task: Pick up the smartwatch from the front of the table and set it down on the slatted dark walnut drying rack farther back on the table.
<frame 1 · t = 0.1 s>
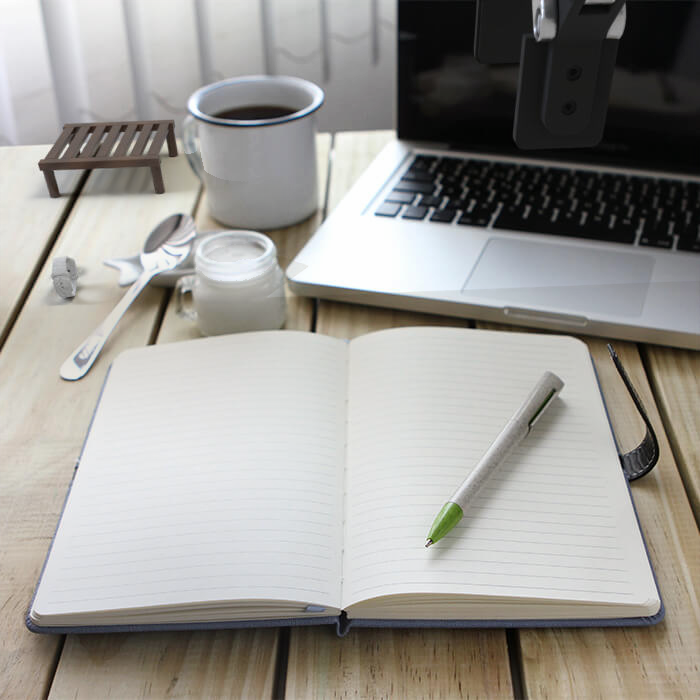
hand: (529, 98, 33), 30 cm above the table, tool pointing down, fingers open, 9 cm apart
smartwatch: (69, 295, 77), on the table
rack: (116, 174, 98), on the table
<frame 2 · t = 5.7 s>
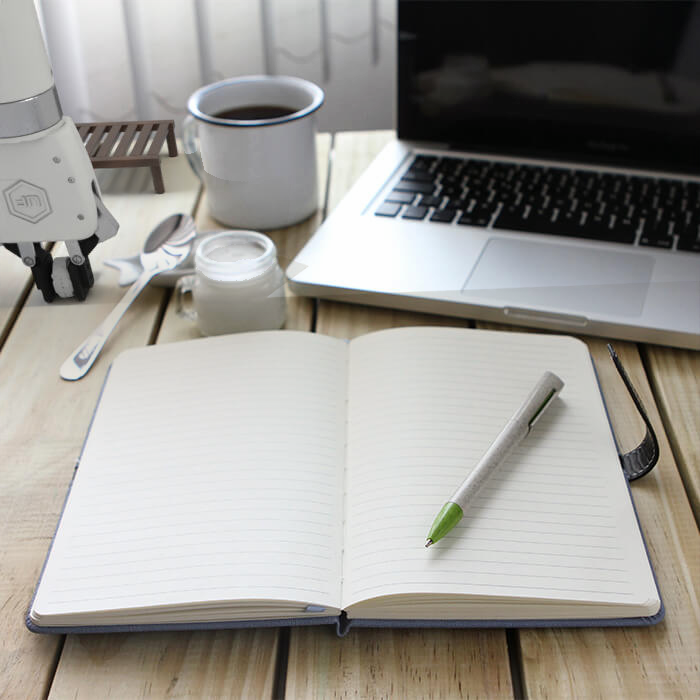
hand: (68, 292, 77), 0 cm above the table, tool pointing down, fingers closed on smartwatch, 2 cm apart
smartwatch: (69, 295, 77), on the table, touching gripper
when the fingers open (5 cm above the table, at t = 12.4 s): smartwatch stays where it is, resting on rack.
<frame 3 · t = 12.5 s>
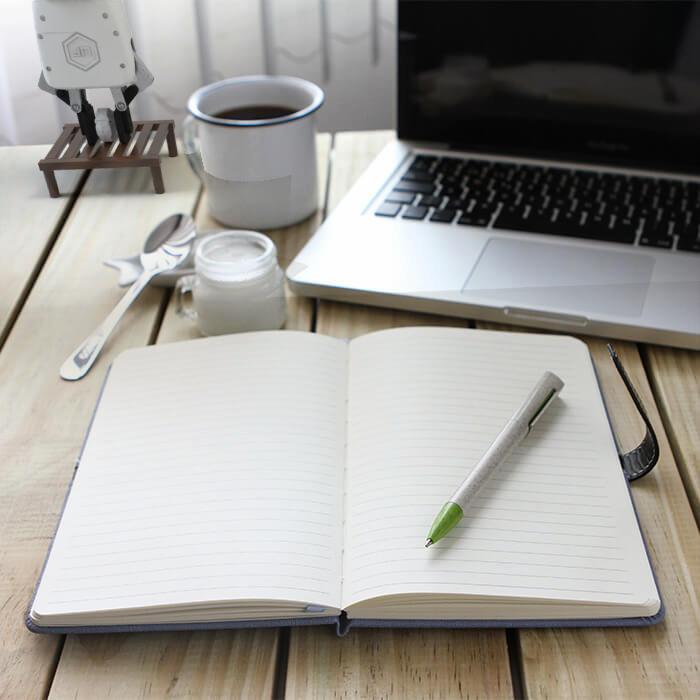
hand: (109, 138, 96), 5 cm above the table, tool pointing down, fingers open, 3 cm apart
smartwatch: (109, 141, 96), point 4 cm above the table, touching rack
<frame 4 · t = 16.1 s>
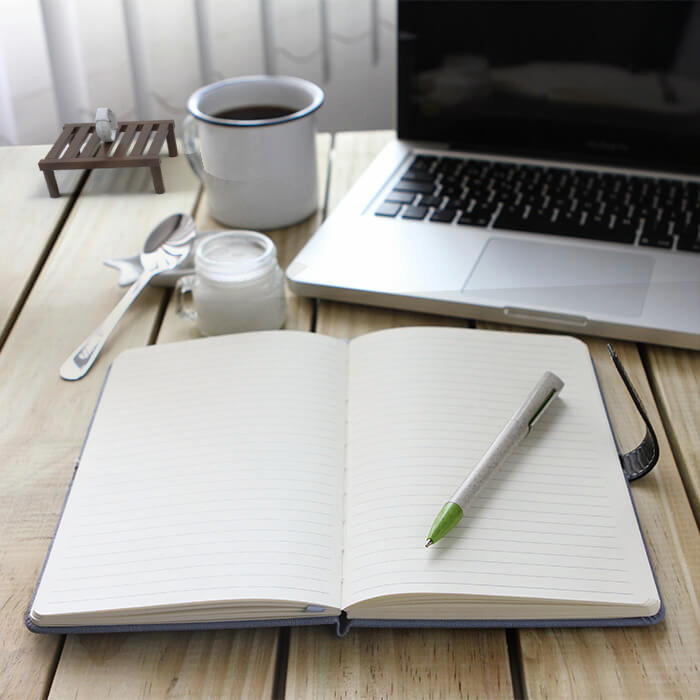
nothing on the table moved.
at the end: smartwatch inside the target area on the rack (0.0 cm from its centre), point 4.3 cm above the rack's base; the gripper is holding nothing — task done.
